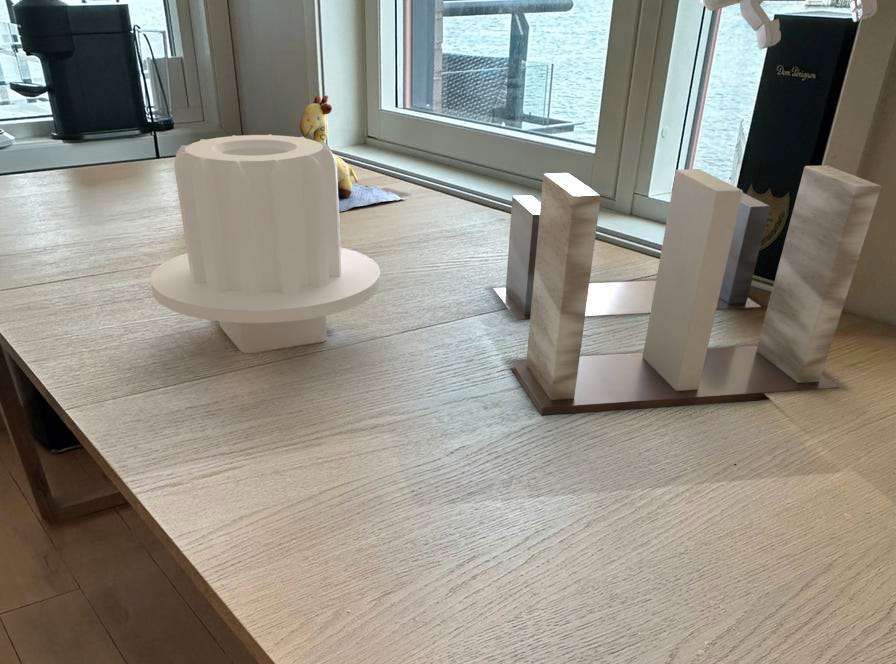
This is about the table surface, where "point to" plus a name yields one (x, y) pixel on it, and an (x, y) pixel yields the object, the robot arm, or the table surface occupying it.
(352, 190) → the stuffed giraffe
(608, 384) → the marble pillar rack
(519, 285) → the grey stand
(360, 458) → the table surface
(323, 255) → the flanged gear
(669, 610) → the table surface
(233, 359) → the table surface
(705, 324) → the white rectangular block
